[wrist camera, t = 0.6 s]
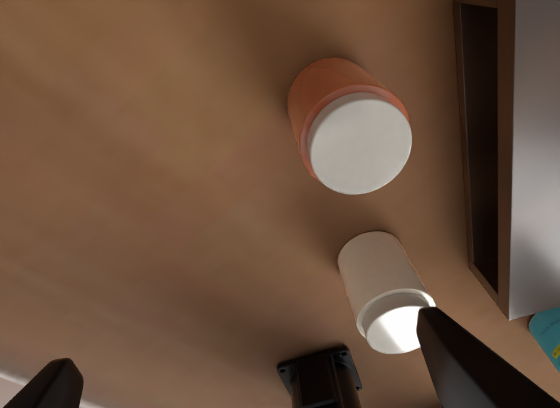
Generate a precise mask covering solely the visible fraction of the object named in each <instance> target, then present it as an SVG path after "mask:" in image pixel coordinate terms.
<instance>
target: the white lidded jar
mask: <svg viewBox="0 0 560 408" xmlns="http://www.w3.org/2000/svg"><path fill="white" fill-rule="evenodd" d="M338 268H339V271H340V274H341V278H342V281H343V284H344V287H345V290H346V293H347V297H348V300H349V303H350V306H351V309H352V313H353V316H354V319H355V322H356V325H357V328H358V330H359V332H360V333H361V335H362V336H363V337H365V338H366V340H367V342H368V344H369V345H370V346H371V347H372V348H373V349H374V350H376V351H378V352H381V353H385V354H400V353H405V352H409V351H412V350H415V349H417V348H419V347H420V344H419V341H418V338H417V334H416V325H417V317H418V311H419V309H420V308H424V307H431V306H435V307H436V305H435V302H434V300H433V298H432V296H431V295H430V293H429V291H428V289H427V288H426V286H425V284H424V282H423V281H422V279H421V277H420V275H419V274H418V272H417V270H416V269H415V267H414V265H413V263H412V262H411V260H410V258H409V256H408V255H407V253H406V251H405V249H404V248H403V246H402V244H401V242H400V241H399V240H398V239H397V238H396V237H395V236H393V235H391V234H389V233H386V232H380V231H373V232H367V233H363V234H360V235H358V236H356V237H354V238H353V239H351V240H350V241H349V242H347V243H346V244H345V245H344V247H343V248H342V249H341V251H340V253H339V256H338Z"/></svg>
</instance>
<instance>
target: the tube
mask: <svg viewBox="0 0 560 408" xmlns="http://www.w3.org/2000/svg"><path fill="white" fill-rule="evenodd" d="M529 330H530V332H531V334H532V335H533V337H534V338H535V339H536V341H537V342H538V344H539V345H540V346H541V348H542V349H543V351H544V352H545V353H546V355H547V356H548V357H549V359H550V360H551V362H552V363H553V364H554V366H555V367H556V368H557V370H558V371H559V372H560V307H557V308H553V309H549V310H546V311H542V312H538V313H536V314H535V315H534V316H533V317H532V319H531V320H530V323H529Z"/></svg>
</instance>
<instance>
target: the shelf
mask: <svg viewBox="0 0 560 408" xmlns="http://www.w3.org/2000/svg"><path fill="white" fill-rule="evenodd" d="M453 2H454V3H453V10H454V26H455V42H456V59H457V75H458V91H459V108H460V124H461V140H462V157H463V173H464V189H465V206H466V222H467V239H468V255H469V269H470V270H471V271H472V273H473V274H474V275H475V277H476V278H477V279H478V281H479V282H480V283H481V285H482V286H483V287H484V288H485V290H486V291H487V292H488V294H489V295H490V296H491V298H492V299H493V300H494V302H495V303H496V304H497V306H498V307H499V308H500V310H501V311H502V312H503V314H504V315H505V316H506V318H507V319H508V320H512V319H516V318H520V317H523V316H527V315H531V314H535V313H538V312H542V311H546V310H549V309H553V308H557V307H560V0H453Z"/></svg>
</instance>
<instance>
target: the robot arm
mask: <svg viewBox="0 0 560 408" xmlns="http://www.w3.org/2000/svg"><path fill="white" fill-rule="evenodd" d="M416 334H417V338H418V341H419V344H420V347H421V350H422V353H423V356H424V358H425V361H426V364H427V367H428V370H429V373H430V376H431V379H432V382H433V385H434V387H435V390H436V393H437V396H438V398H439V400H440V403H441V405H442V407H443V408H560V403H559V402H558V401H557V400H555V399H554V398H553V397H551V396H550V395H549V394H548V393H546V392H545V391H544V390H542V389H541V388H540V387H539V386H537V385H536V384H535V383H534V382H532V381H531V380H530V379H528V378H527V377H526V376H525V375H523V374H522V373H521V372H519V371H518V370H517V369H516V368H514V367H513V366H512V365H510V364H509V363H508V362H507V361H505V360H504V359H503V358H501V357H500V356H499V355H498V354H496V353H495V352H494V351H492V350H491V349H490V348H489V347H487V346H486V345H485V344H483V343H482V342H481V341H480V340H478V339H477V338H476V337H475V336H473V335H472V334H471V333H469V332H468V331H467V330H466V329H464V328H463V327H462V326H460V325H459V324H458V323H457V322H455V321H454V320H453V319H451V318H450V317H449V316H448V315H446V314H445V313H444V312H442V311H441V310H440V309H439V308H437V307H435V306H431V307H424V308H420V309H419V311H418V317H417V325H416ZM277 372H278V374H279V376H280V378H281V379H282V381H283V383H284V385H285V386H286V388H287V390H288V391H289V393H290V395H291V399H292V408H361V405H360V401H359V397H358V393H357V391H359V390H361V389H362V385H361V382H360V379H359V376H358V373H357V371H356V368H355V365H354V363H353V360H352V357H351V354H350V352H349V349H348V347H345V346H343V347H338V348H335V349H331V350H328V351H324V352H320V353H317V354H313V355H309V356H306V357H302V358H299V359H295V360H291V361H288V362H284V363H281V364H278V365H277ZM83 383H84V382H83V377H82V375H81V373H80V372H79V370H78V368H77V367H76V365H75V364H74V362H73V361H72V360H71V359H70V358H62V359H56V360H53V361H51V362H49V363H48V364H47V365H46V366H45V367H44V368H43V369H42V370H41V371H40V372H39V373H38V374H37V375H36V376H35V377H34V378H33V379H32V380H31V381H30V382H29V383H28V384H27V385H26V386H25V387H24V388H23V389H22V390H21V391H20V392H19V393H17V394H16V396H14V397H13V398H12V399H11V400H10V401H9V402H8V403H7V404H6V405H5V406H4V407H3V408H79V405H80V400H81V395H82V390H83Z"/></svg>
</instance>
